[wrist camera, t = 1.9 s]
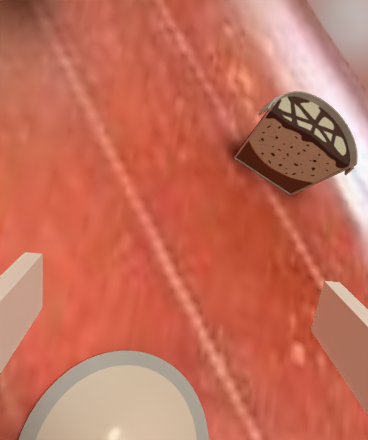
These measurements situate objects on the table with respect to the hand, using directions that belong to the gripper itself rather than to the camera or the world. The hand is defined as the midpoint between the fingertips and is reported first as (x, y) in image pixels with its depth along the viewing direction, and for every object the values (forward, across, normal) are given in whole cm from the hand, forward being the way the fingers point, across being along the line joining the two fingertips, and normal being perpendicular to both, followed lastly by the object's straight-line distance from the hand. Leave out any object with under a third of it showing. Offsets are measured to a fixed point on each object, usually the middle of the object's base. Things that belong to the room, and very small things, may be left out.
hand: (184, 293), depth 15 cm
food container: (+31, +13, +3) cm, 34 cm away
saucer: (+7, -3, -20) cm, 21 cm away
